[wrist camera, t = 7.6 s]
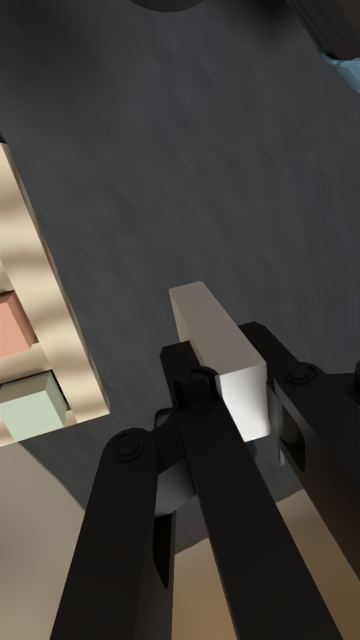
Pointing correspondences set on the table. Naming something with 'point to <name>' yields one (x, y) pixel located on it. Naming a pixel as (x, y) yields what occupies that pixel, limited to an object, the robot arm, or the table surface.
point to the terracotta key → (14, 325)
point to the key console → (42, 307)
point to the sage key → (32, 406)
